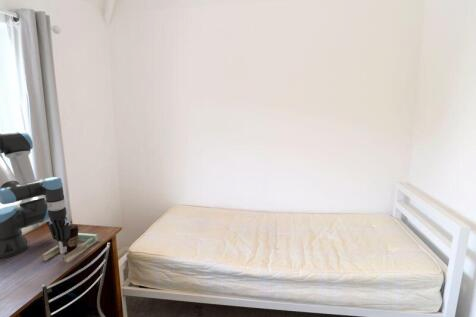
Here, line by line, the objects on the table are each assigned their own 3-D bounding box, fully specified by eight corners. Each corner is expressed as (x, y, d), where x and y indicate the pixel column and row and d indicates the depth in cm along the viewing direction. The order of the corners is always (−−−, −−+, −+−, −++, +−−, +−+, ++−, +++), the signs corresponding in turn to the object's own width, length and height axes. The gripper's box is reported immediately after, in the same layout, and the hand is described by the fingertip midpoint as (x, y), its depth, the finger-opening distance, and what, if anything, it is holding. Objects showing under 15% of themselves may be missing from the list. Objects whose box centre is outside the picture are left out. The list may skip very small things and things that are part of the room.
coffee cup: (84, 247, 148) (82, 224, 146) (72, 254, 139) (71, 230, 138) (69, 246, 149) (68, 223, 147) (57, 253, 141) (55, 229, 139)
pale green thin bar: (42, 260, 136) (41, 255, 135) (72, 240, 155) (72, 236, 155) (46, 260, 136) (45, 255, 135) (75, 241, 155) (75, 236, 154)
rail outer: (64, 262, 134) (63, 256, 133) (92, 242, 153) (91, 237, 153) (68, 262, 134) (67, 257, 133) (95, 242, 153) (94, 237, 152)
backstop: (72, 240, 155) (71, 234, 155) (75, 239, 157) (74, 232, 157) (95, 242, 153) (94, 235, 152) (97, 240, 155) (97, 234, 154)
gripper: (38, 210, 133) (46, 255, 137) (62, 211, 130) (69, 256, 135) (51, 205, 140) (58, 247, 144) (74, 206, 137) (80, 249, 142)
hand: (63, 252), depth 139 cm, fingers closed
